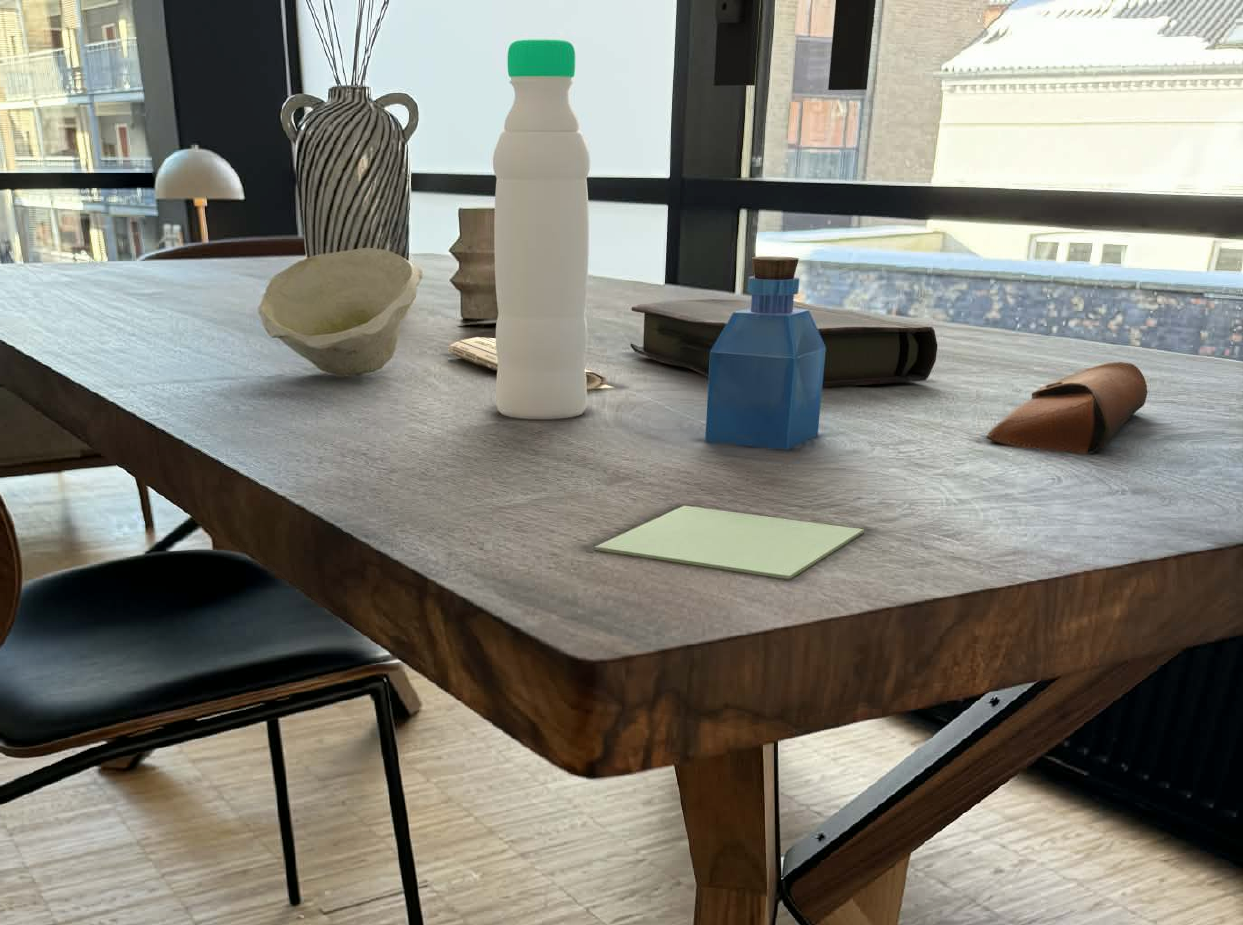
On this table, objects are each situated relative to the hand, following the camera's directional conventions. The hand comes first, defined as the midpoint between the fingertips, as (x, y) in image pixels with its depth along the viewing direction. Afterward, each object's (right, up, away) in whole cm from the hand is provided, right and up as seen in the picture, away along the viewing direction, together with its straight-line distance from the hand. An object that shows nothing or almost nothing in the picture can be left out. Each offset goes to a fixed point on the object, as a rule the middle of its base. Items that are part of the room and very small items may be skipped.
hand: (793, 89), depth 97 cm
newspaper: (-18, -6, +34) cm, 40 cm away
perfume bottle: (-1, -22, +6) cm, 23 cm away
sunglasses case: (+22, -20, +10) cm, 32 cm away
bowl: (-35, -6, +34) cm, 49 cm away
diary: (+4, -5, +37) cm, 38 cm away
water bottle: (-17, -17, +16) cm, 29 cm away
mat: (-7, -36, -19) cm, 41 cm away
